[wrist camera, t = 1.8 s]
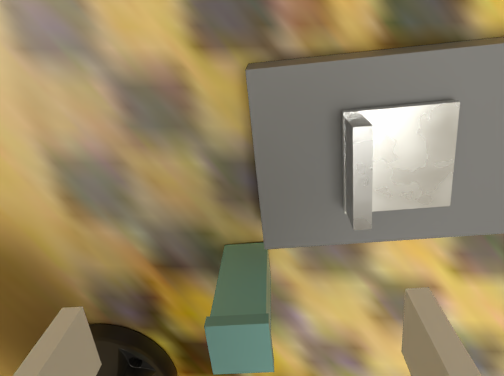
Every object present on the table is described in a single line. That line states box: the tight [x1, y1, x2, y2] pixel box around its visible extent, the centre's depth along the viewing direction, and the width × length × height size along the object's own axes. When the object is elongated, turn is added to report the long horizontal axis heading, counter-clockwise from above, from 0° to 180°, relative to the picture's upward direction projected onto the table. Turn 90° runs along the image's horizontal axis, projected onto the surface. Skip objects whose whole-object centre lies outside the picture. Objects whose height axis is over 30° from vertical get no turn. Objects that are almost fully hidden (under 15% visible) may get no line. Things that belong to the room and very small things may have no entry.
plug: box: [204, 242, 274, 374], centre depth 33 cm, size 4×4×11 cm
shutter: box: [341, 100, 460, 230], centre depth 26 cm, size 8×8×4 cm
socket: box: [245, 37, 504, 249], centre depth 30 cm, size 20×14×4 cm
